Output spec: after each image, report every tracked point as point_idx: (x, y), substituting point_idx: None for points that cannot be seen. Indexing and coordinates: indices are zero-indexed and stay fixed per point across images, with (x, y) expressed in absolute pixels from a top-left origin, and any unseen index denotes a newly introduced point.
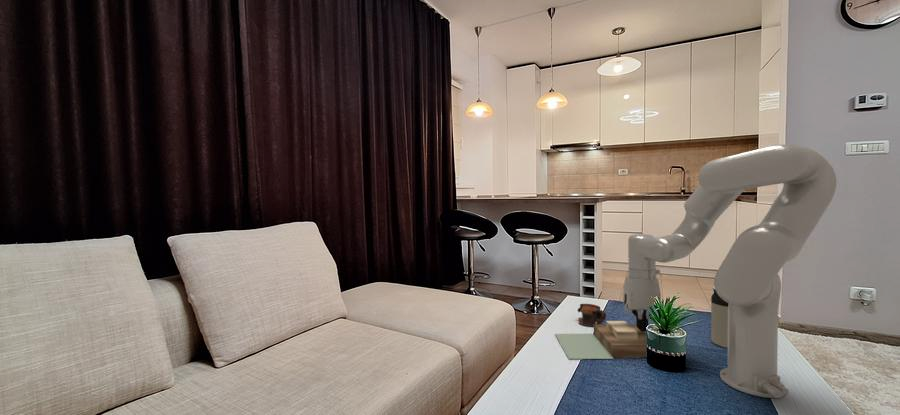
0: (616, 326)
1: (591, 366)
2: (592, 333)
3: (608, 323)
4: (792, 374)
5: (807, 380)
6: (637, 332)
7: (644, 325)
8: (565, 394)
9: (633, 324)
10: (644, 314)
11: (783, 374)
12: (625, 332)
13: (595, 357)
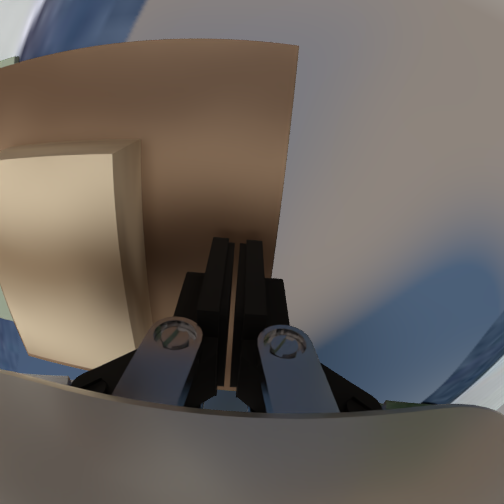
0: (22, 283)
1: (4, 344)
2: (13, 57)
3: None
4: (500, 392)
5: (493, 406)
6: (206, 238)
7: (232, 342)
8: None
9: (272, 53)
10: (259, 391)
11: (488, 395)
12: (70, 361)
13: (4, 313)
